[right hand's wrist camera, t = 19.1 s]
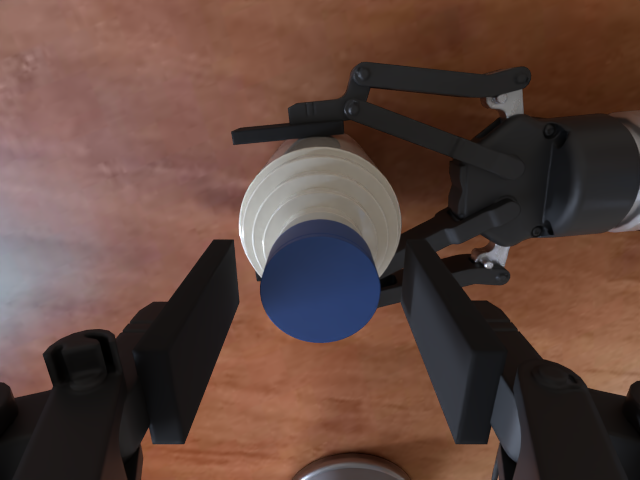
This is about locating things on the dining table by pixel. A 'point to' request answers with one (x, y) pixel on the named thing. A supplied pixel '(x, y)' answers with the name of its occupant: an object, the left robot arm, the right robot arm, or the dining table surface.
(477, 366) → the right robot arm
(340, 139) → the bottle
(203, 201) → the dining table surface
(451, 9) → the dining table surface
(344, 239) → the cap
